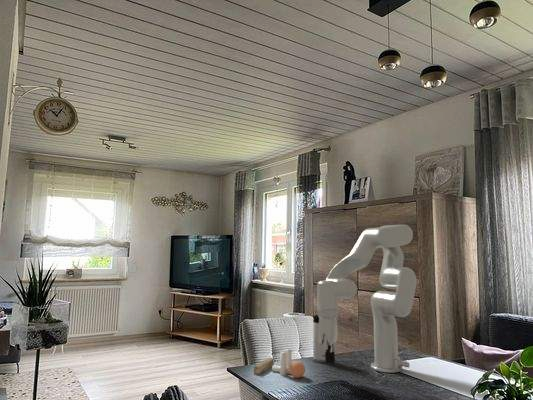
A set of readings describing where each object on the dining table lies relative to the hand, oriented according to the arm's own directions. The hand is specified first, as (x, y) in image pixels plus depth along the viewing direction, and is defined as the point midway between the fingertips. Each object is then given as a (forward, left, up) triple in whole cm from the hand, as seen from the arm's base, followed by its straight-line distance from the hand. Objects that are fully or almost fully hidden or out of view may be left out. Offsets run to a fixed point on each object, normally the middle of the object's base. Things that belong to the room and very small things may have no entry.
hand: (330, 362), depth 151 cm
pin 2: (+18, -1, -6) cm, 19 cm away
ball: (+12, +4, -3) cm, 13 cm away
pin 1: (+18, +4, -6) cm, 19 cm away
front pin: (+15, +1, -5) cm, 16 cm away
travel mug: (+12, -23, -7) cm, 27 cm away
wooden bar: (+28, +1, -6) cm, 28 cm away
